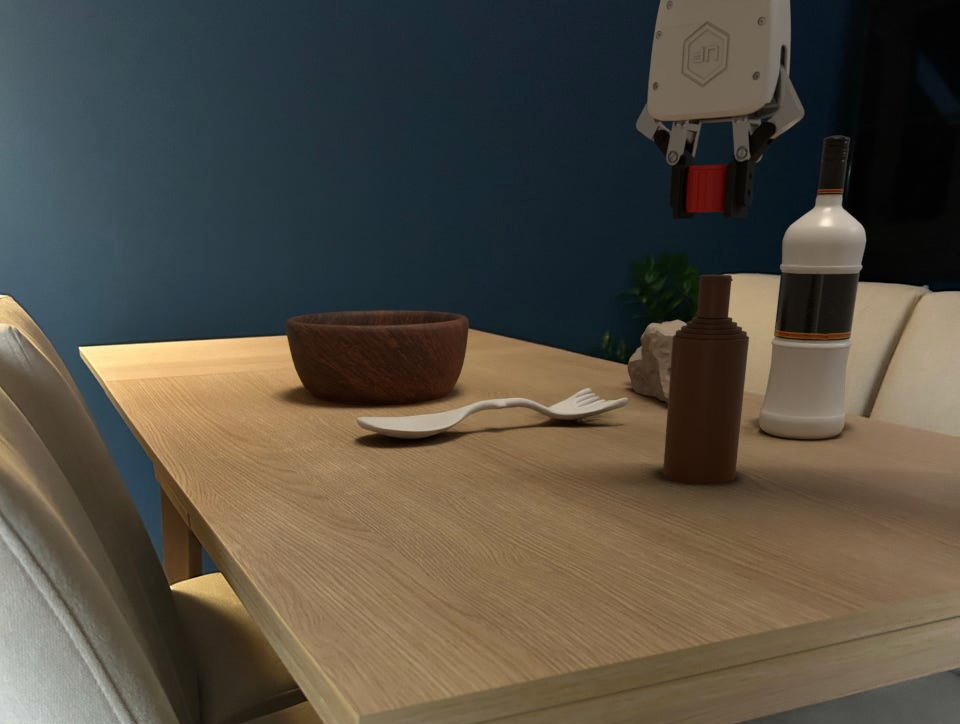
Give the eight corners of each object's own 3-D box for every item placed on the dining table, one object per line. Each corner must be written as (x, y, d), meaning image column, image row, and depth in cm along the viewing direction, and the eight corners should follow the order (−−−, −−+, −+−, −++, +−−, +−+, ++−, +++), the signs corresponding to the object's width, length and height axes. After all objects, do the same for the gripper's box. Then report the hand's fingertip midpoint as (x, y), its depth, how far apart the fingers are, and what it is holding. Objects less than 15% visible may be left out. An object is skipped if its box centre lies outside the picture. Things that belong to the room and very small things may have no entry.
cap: (680, 212, 79) (682, 166, 77) (693, 210, 82) (695, 165, 80) (727, 211, 77) (731, 164, 76) (739, 209, 80) (742, 164, 79)
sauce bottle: (729, 477, 91) (749, 273, 84) (738, 494, 85) (761, 277, 78) (660, 475, 92) (674, 273, 84) (665, 493, 86) (680, 277, 79)
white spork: (629, 424, 115) (630, 395, 113) (374, 450, 102) (373, 417, 101) (588, 412, 122) (589, 384, 121) (347, 435, 109) (345, 404, 108)
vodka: (760, 439, 107) (793, 133, 95) (755, 423, 115) (786, 140, 103) (848, 442, 105) (893, 131, 93) (837, 426, 113) (877, 138, 102)
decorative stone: (728, 409, 124) (735, 328, 120) (672, 412, 122) (679, 329, 118) (666, 386, 142) (671, 314, 138) (617, 388, 140) (621, 316, 136)
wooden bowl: (322, 379, 150) (317, 309, 146) (482, 382, 146) (481, 310, 142) (264, 407, 127) (256, 325, 123) (451, 411, 123) (450, 327, 119)
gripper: (606, -41, 74) (597, 219, 81) (822, -82, 65) (791, 216, 72) (652, -23, 80) (640, 219, 87) (858, -59, 70) (825, 216, 78)
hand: (709, 215), depth 79 cm, fingers closed on cap, 3 cm apart
